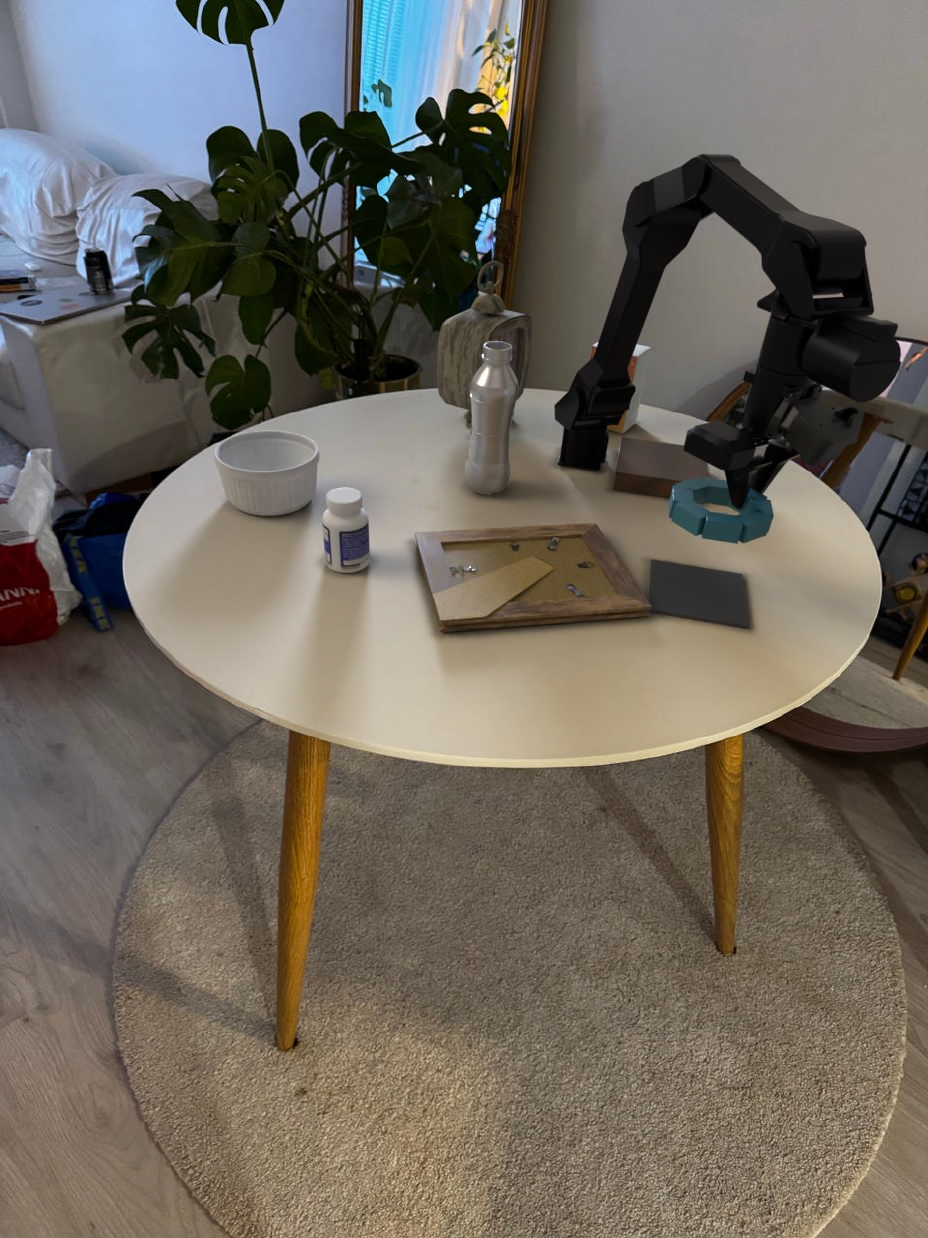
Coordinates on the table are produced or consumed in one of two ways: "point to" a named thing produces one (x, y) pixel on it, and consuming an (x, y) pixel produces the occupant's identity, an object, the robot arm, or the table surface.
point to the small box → (637, 378)
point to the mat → (698, 593)
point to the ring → (719, 525)
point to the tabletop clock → (480, 344)
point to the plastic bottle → (491, 420)
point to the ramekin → (268, 471)
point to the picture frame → (525, 577)
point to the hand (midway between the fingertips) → (743, 504)
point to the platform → (654, 467)
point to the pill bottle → (345, 531)
